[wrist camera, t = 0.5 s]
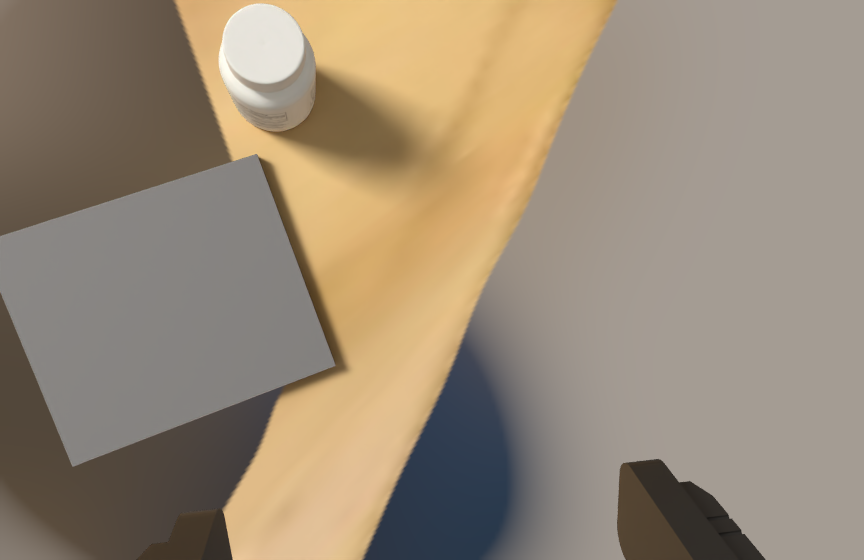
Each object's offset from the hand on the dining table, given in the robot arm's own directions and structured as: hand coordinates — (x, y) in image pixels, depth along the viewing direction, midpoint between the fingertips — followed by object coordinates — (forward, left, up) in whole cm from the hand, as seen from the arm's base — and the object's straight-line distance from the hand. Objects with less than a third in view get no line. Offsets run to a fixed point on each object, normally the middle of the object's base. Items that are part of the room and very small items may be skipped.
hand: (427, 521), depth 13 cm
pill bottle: (-15, +1, -24) cm, 28 cm away
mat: (-6, -8, -23) cm, 26 cm away
